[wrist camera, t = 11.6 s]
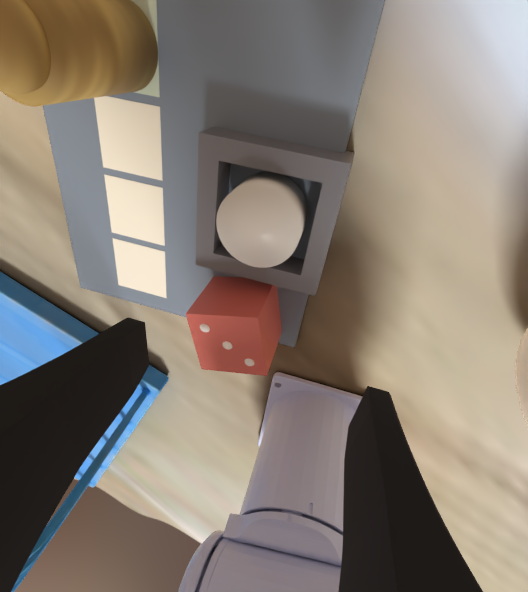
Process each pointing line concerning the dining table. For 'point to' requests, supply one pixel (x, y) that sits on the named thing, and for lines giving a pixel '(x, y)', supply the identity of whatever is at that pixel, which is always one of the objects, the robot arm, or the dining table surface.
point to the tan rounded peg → (74, 50)
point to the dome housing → (279, 159)
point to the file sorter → (43, 348)
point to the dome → (262, 219)
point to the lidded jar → (522, 375)
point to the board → (185, 133)
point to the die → (236, 325)
